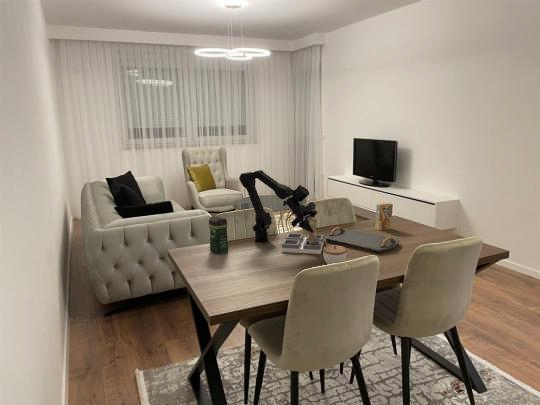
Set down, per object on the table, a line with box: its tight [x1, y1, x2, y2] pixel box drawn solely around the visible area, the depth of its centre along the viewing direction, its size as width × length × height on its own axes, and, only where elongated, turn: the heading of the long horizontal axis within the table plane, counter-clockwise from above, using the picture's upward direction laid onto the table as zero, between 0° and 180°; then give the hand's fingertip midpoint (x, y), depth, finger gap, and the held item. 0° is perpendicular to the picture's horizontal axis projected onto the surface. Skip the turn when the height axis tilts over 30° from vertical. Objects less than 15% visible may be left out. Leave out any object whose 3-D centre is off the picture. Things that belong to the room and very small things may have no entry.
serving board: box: [324, 226, 400, 255], centre depth 224 cm, size 39×23×6 cm, turn 48°
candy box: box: [375, 202, 394, 231], centre depth 248 cm, size 9×4×15 cm, turn 111°
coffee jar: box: [208, 215, 229, 255], centre depth 211 cm, size 10×8×19 cm
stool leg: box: [308, 217, 318, 245], centre depth 211 cm, size 4×4×14 cm
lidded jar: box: [322, 244, 347, 265], centre depth 193 cm, size 11×11×9 cm
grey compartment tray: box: [280, 232, 325, 255], centre depth 219 cm, size 20×20×4 cm
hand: (314, 231), depth 210 cm, fingers open, 4 cm apart
